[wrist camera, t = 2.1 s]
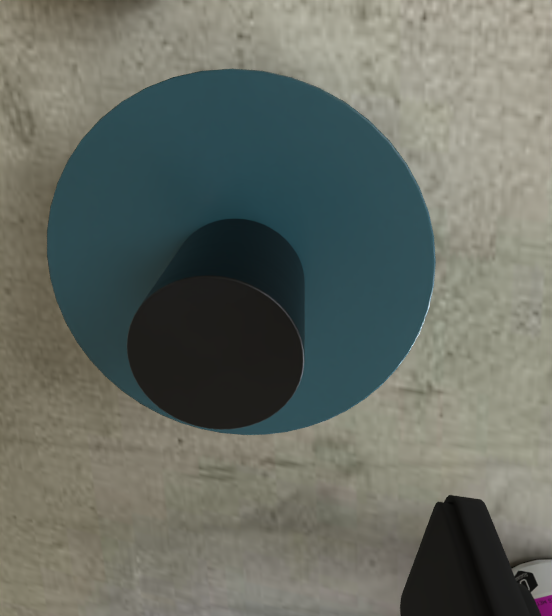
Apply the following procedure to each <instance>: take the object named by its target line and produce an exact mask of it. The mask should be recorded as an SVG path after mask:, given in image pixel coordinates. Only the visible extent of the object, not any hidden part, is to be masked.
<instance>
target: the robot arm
mask: <svg viewBox="0 0 552 616" xmlns="http://www.w3.org/2000/svg"><path fill="white" fill-rule="evenodd" d="M400 613H401V616H541V613H540V611H539V609H538V606H537V604H536V601H535V600H534V598H533V596H532V594H531V592H530V591H529V590H528V589H527V588H526V587H525V586H524V585H522V584H520V583H517V581H516V579H515V576H514V574H513V571H512V569H511V566H510V564H509V561H508V559H507V556H506V554H505V551H504V549H503V547H502V544H501V542H500V539H499V537H498V534H497V532H496V529H495V527H494V524H493V522H492V519H491V517H490V514H489V512H488V510H487V507H486V505H485V503H484V502H483V501H482V500H480V499H473V498H466V497H459V496H452V495H449V496H448V497H447V498H446V500H445V502H444V503H443V502H437V503H436V505H435V507H434V509H433V512H432V515H431V517H430V520H429V523H428V525H427V528H426V531H425V533H424V536H423V539H422V542H421V544H420V547H419V550H418V552H417V555H416V558H415V560H414V563H413V566H412V569H411V571H410V574H409V577H408V579H407V582H406V585H405V587H404V590H403V593H402V596H401V604H400Z"/></svg>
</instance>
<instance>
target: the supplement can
mask: <svg viewBox="0 0 552 616" xmlns="http://www.w3.org/2000/svg"><path fill="white" fill-rule="evenodd" d="M512 571H513V574H514V576H515V579H516V581H517V583H520V584H522V585H524V586H525V587H526V588H527V589H528V590H529V591H530V592H531V594H532V596H533V598H534V600H535V601H536V604H537V606H538V609H539V611H540V613H541V616H552V559H551V560H535V561H531V562H527V563H523V564H520V565H518V566H516V567H514V568H512Z"/></svg>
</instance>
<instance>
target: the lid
mask: <svg viewBox="0 0 552 616" xmlns="http://www.w3.org/2000/svg"><path fill="white" fill-rule="evenodd" d="M47 258H48V265H49V272H50V279H51V282H52V286H53V290H54V293H55V297H56V300H57V303H58V305H59V308H60V310H61V312H62V315H63V317H64V320H65V322H66V324H67V326H68V327H69V329H70V331H71V333H72V334H73V336H74V338H75V340H76V341H77V343H78V344H79V345H80V347H81V348H82V350H83V351H84V352H85V354H86V355H87V356H88V358H89V359H90V360H91V361H92V362H93V364H94V365H95V366H96V367H97V368H98V369H99V370H100V371H101V372H102V373H103V374H104V375H105V376H106V377H107V378H108V379H109V380H110V381H111V382H113V383H114V384H115V385H116V386H117V387H118V388H119V389H121V390H122V391H123V392H125V393H126V394H127V395H129V396H130V397H132V398H133V399H135V400H136V401H138V402H139V403H140V404H142V405H144V406H146V407H148V408H150V409H151V410H153V411H155V412H157V413H159V414H161V415H163V416H166V417H168V418H170V419H173V420H175V421H178V422H180V423H183V424H187V425H190V426H193V427H196V428H200V429H204V430H210V431H215V432H220V433H229V434H240V435H263V434H273V433H281V432H288V431H292V430H297V429H301V428H305V427H309V426H311V425H314V424H317V423H320V422H323V421H326V420H328V419H330V418H332V417H334V416H336V415H338V414H341V413H343V412H345V411H347V410H348V409H350V408H351V407H353V406H354V405H356V404H358V403H359V402H361V401H362V400H364V399H365V398H367V397H368V396H369V395H370V394H371V393H373V392H374V391H375V390H376V389H377V388H379V387H380V386H381V385H382V384H383V383H384V382H385V381H386V380H387V379H388V378H389V377H390V376H391V375H392V373H393V372H394V371H395V370H396V369H397V368H398V366H399V365H400V364H401V362H402V361H403V360H404V358H405V357H406V355H407V354H408V353H409V351H410V350H411V348H412V346H413V344H414V342H415V340H416V338H417V336H418V335H419V333H420V331H421V328H422V326H423V323H424V320H425V318H426V315H427V312H428V310H429V305H430V301H431V296H432V292H433V287H434V276H435V263H436V261H435V246H434V235H433V230H432V226H431V221H430V216H429V212H428V209H427V207H426V204H425V201H424V198H423V196H422V193H421V190H420V188H419V186H418V184H417V182H416V180H415V178H414V176H413V175H412V173H411V171H410V169H409V167H408V165H407V164H406V162H405V161H404V160H403V158H402V157H401V156H400V154H399V153H398V151H397V150H396V149H395V147H394V146H393V145H392V143H391V142H390V141H389V140H388V139H387V138H386V137H385V136H384V135H383V134H382V133H381V132H380V131H379V130H378V129H377V128H376V127H375V126H374V125H373V124H372V123H371V122H370V121H369V120H368V119H367V118H365V117H364V116H363V115H362V114H360V113H359V112H358V111H356V110H355V109H354V108H352V107H351V106H350V105H348V104H347V103H346V102H344V101H342V100H340V99H339V98H337V97H335V96H333V95H331V94H330V93H328V92H326V91H324V90H322V89H320V88H318V87H316V86H313V85H310V84H308V83H305V82H303V81H300V80H297V79H295V78H292V77H288V76H283V75H279V74H274V73H270V72H265V71H257V70H243V69H222V70H208V71H199V72H195V73H190V74H186V75H181V76H177V77H173V78H170V79H168V80H165V81H162V82H160V83H157V84H155V85H152V86H149V87H147V88H145V89H143V90H141V91H140V92H138V93H136V94H134V95H133V96H131V97H129V98H128V99H126V100H124V101H122V102H121V103H120V104H118V105H117V106H116V107H115V108H113V109H112V110H111V111H110V112H108V113H107V114H106V115H105V116H103V117H102V118H101V119H100V120H99V121H98V122H97V123H96V124H95V125H94V127H93V128H92V129H91V130H90V131H89V132H88V133H87V134H86V135H85V136H84V137H83V139H82V140H81V142H80V143H79V145H78V146H77V148H76V149H75V151H74V152H73V154H72V155H71V157H70V158H69V160H68V162H67V164H66V166H65V168H64V170H63V172H62V174H61V177H60V179H59V181H58V183H57V186H56V190H55V193H54V197H53V200H52V204H51V207H50V214H49V221H48V229H47Z"/></svg>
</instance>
